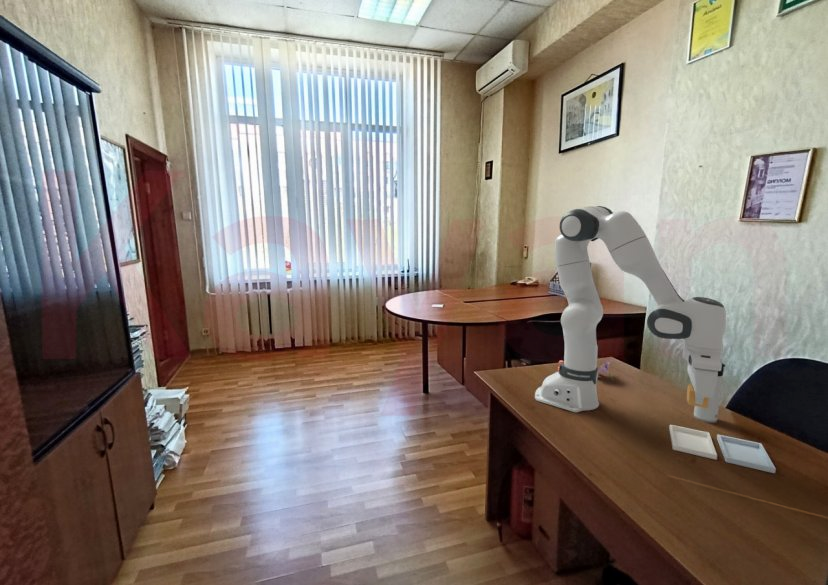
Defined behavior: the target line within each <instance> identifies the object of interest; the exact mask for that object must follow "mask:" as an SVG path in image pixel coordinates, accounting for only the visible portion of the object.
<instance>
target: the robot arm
mask: <svg viewBox="0 0 828 585" xmlns="http://www.w3.org/2000/svg"><path fill="white" fill-rule="evenodd" d="M559 231H560V235H558V236H557V237H556V238H555V240H554V257H555V258H554V259H555V265H556V269H557V276H558V280H559V285H560V288H561V289H562V291H563V293H564V295H565V298H566V300H567V304H568V306H566V307H565V308H564V310H563V311H562V314H561V317H560V324H561V328H562V333H563V334H562V335H563V340H564V356H563V360H562V359H561V360H559V361H558V362H557V364H558V365H557V371H556V372H554V373H552V374H550V375H548V376H547V377H545V378H544V380H543V381H542V385H541V386H539V387H538V388H537V389H536V390H535V392H534V399H535V400H536V401H537V402H539V403H543V404H547V405H550V406H554V407H556V408H560V409H563V410H567V411H570V412H573V413H580V412H583V411H591V410H592V411H593V410H595V409H597V408H598V407H599V406H600V403H599V398H598V393H597V383H598V375H599V374H598V373H599V372H598V370H599V369H598V366H597V364H598V362H597V361H598V349H599V347H598V346H599V345H598V344H597V326H598V324H599V323H600V322H601V320H602V318H604V317H603V316H604V307H603V304H602V303H601V299H600V296H599V292H598V290H597V288H596V283H595V281H594V277H593V272H592V268H591V267H592V266H591V263H590V257H589V251H588V247H589V243H590V242H595V241H596V240H599V239H600V240H601V241H602V242H603V243H604V244H605V246H606V248H607V250H608V252H609V254H610V256H611V258H612V260H613V262H614V263H615V264H616V265H617V267H618V268H619V269H620V270H621V271H623V272H624V273H627V274H630V275H632V276H634V277H636V278H638V279H639V280H641V281H642V282H643V283H644V284H645V286H646V288H647V290H648V291H649V293H650V295H651V296H652V297H653V299H654V302H656V306H657V308H656V309H654V310H653V311H652V312H650V313H649V314H648V316H647V320H646V323H647V324H646V325H647V328H648V330H649V331H650V333H651V334H653V335H654V336H655V337H657V338H660V339H663V340H664V339H665V340H666V339H667V340H668V339H669V340H683V349H682V358H683V359H684V360H685V361H687V369H686V370H687V374H688V376H689V379H690V383H691V385H693V388H694V391H695V394H696V395H695V403H696V404H700V405H702V404H703V400H704V397H706V398H712V396H713V394H714V391H715V387H716V382H717V377H718V371H721V368H722V359H723V352H724V351H723V350H724V343H723V337H724V335H725V333H726V321H727V315H726V314H727V313H726V312H727V311H726V308H725V305H724V304H723V303H722V302H720V301H718V300H716V299H712V298H709V297H704V296H703V297H701V296H695V297H692V298H690V299H688V300H685V299H683V298H682V297H681V296H680V295H679V293H678V292H677V291H676V289H675V287H674V286H673V284H672V282H671V281H670V279H669V277H668V276H667V274H666V272H665V271H664V269H663V267H662V266H661V264H660V261H659V260H658V257H657V255H656V253H655V251H654V249H653V246H652V244H651V242H650V240H649V238H648V236H647V235H646V233H645V231H644V230H643V228H642V227H641V225H640V224H639V222H638V221H637V219H636V218H635V217H634V216H633V215H632V214H631V213H630V212H628V211H625V210H620V211H616V212H613V211H612V210H611V209H610V208H608V207H605V206H602V205H595V206H591V205H590V206H584V207H582V208H581V207H580V208H575V209H572V210H570V211H568V212H565V214H564V215H563V216H562V217H561V219H560V221H559Z"/></svg>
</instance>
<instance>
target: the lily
mask: <svg viewBox="0 0 828 585" xmlns="http://www.w3.org/2000/svg"><path fill="white" fill-rule="evenodd" d="M615 359H616V358H613V359H611V360H610V361H609V359H607V360H606V361H605V362H603V363H602V365H599V367H600V368H599V369H598V375H600V373H602V374H603V373H606V374H608V375H609V377H610V378H611V380H612V381H614V379H613V378H612V376H611V373H609V366H610V364H611V363H612V362H613V361H614V360H615Z"/></svg>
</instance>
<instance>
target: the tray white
mask: <svg viewBox="0 0 828 585" xmlns="http://www.w3.org/2000/svg"><path fill="white" fill-rule="evenodd" d="M668 430H669V434H670V440H671V446H672V450H673V451H678V452H682V453H687V454H691V455H694V456H695V455H696V456H699V457H703V458H707V459H712V460H715V461H717V460H718V453H717V451H716V448H715V446H714V442H713V440H712V437H711V434H710V432H709V431H702V430H698V429H695V428H689V427H684V426H679V425H674V424H669V429H668Z"/></svg>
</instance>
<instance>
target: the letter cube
mask: <svg viewBox="0 0 828 585" xmlns="http://www.w3.org/2000/svg"><path fill="white" fill-rule="evenodd" d="M695 395H696V394H695V391H694V388H693V385H692V384H687V391H686V401H687V405H688V406H691V407H692V406H693V407H695V406H698V407H704V408H708V402H709V398H706V397H704V400H703V404H702V405H700V404H696V403H695Z"/></svg>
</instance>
